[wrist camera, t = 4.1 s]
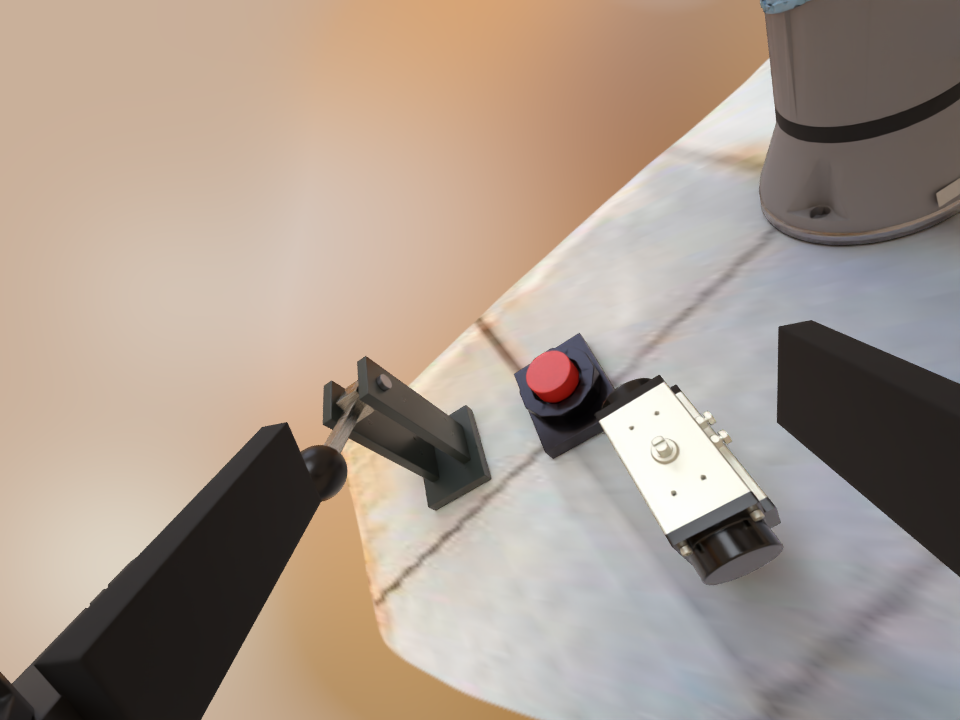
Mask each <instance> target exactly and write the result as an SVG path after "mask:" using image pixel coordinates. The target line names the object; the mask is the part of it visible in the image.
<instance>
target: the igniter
mask: <svg viewBox="0 0 960 720" xmlns="http://www.w3.org/2000/svg"><path fill="white" fill-rule="evenodd" d="M526 381H527V384H528V386H529V388H530V389H531V390H532V391H533V392H534V393H535V394H536V395H537V396H538V397H539V398H540V399H542V400H543V401H545V402H549V403H556V402H560V401H563V400H565V399H566V398H568V397H569V396H570V395H571V394H572V393H573V392H574V391H575V389H576V387H577V385H578V382H579V373H578V370H577V368H576V367H575V365H574V364H573V363H572V362H571V360H570V359H569V358H568V356H567V355H565V354H564V353H562V352H560V351H548V352H545V353H543V354H541V355H539V356H538V357H536V358H535V359H534V360H533V361H532V363H531V364H530V366H529V368H528V370H527V374H526Z"/></svg>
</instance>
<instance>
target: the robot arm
mask: <svg viewBox="0 0 960 720" xmlns="http://www.w3.org/2000/svg"><path fill="white" fill-rule="evenodd" d="M760 4H761V8H763V11H764V12H765V19H766V29H767V37H768V47H769V57H770V66H771V75H772V85H773V94H774V103H775V113H776V125H775V129H774V132H773V135H772V139H771V142H770V145H769V149H768V152H767V155H766V159H765V162H764V165H763V169H762V172H761V177H760V186H759V194H760V200H761V206H762V210H763V213H764V215H765V216H766V218H767V219H768V221H769V222H770V223H771V224H772V225H773V226H774V227H775V228H777V229H778V230H780V231H781V232H783V233H785V234H787V235H789V236H792V237H794V238H797V239H800V240H804V241H808V242H813V243H820V244H830V245H854V244H865V243H873V242H879V241H885V240H889V239H894V238H898V237H902V236H905V235H909V234H912V233H915V232H918V231H921V230H923V229H926V228H928V227H931V226H933V225H935V224H937V223H940V222H942V221H944V220H946V219H948V218H949V217H951V216H953V215H955V214H956V213H958V212H960V0H760ZM777 423H778V424H779V425H781V426H782V427H783V428H784V429H785V430H787V431H788V432H789V433H790V434H791V435H792V436H794V437H795V438H796V439H797V440H798V441H800V442H801V443H802V444H803V445H804V446H805V447H807V448H808V449H809V450H810V451H811V452H813V453H814V454H815V455H816V456H817V457H818V458H820V459H821V460H822V461H823V462H824V463H826V464H827V465H828V466H829V467H830V468H831V469H833V470H834V471H835V472H836V473H837V474H839V475H840V476H841V477H842V478H843V479H845V480H846V481H847V482H848V483H849V484H850V485H852V486H853V487H854V488H855V489H856V490H858V491H859V492H860V493H861V494H862V495H863V496H865V497H866V498H867V499H868V500H869V501H871V502H872V503H873V504H874V505H875V506H876V507H878V508H879V509H880V510H881V511H882V512H884V513H885V514H886V515H887V516H888V517H889V518H891V519H892V520H893V521H894V522H895V523H897V524H898V525H899V526H900V527H901V528H902V529H904V530H905V531H906V532H907V533H908V534H910V535H911V536H912V537H913V538H914V539H916V540H917V541H918V542H919V543H920V544H921V545H923V546H924V547H925V548H926V549H927V550H929V551H930V552H931V553H932V554H933V555H934V556H936V557H937V558H938V559H939V560H940V561H942V562H943V563H944V564H945V565H946V566H947V567H949V568H950V569H951V570H952V571H953V572H955V573H956V574H957V575H958V576H959V577H960V384H959V383H956V382H954V381H952V380H949V379H947V378H945V377H942V376H940V375H938V374H935V373H933V372H931V371H928V370H926V369H924V368H921V367H919V366H917V365H915V364H912V363H910V362H908V361H905V360H903V359H901V358H898V357H896V356H894V355H891V354H889V353H887V352H884V351H882V350H880V349H877V348H875V347H873V346H870V345H868V344H866V343H863V342H861V341H859V340H856V339H854V338H852V337H849V336H847V335H845V334H842V333H840V332H838V331H835V330H833V329H831V328H828V327H826V326H824V325H821V324H819V323H817V322H814V321H812V320H810V321H805V322H800V323H795V324H790V325H784V326H779V334H778V391H777ZM321 501H322V500H321V498H320V495H319V493H318V491H317V489H316V486H315V484H314V482H313V480H312V477H311V475H310V473H309V470H308V468H307V466H306V464H305V461H304V459H303V457H302V455H301V452H300V450H299V448H298V445H297V443H296V441H295V439H294V436H293V434H292V432H291V430H290V428H289V425H288V423H287V422H286V423H281V424H276V425H271V426H265V427H262V428H261V429H260V430H259V431H258V432H257V433H256V434H255V435H254V436H253V437H252V438H251V439H250V440H249V441H248V442H247V443H246V444H245V445H244V447H243V448H242V449H241V450H240V451H239V452H238V453H237V454H236V455H235V456H234V457H233V458H232V459H231V460H230V461H229V462H228V463H227V464H226V465H225V466H224V467H223V468H222V469H221V470H220V471H219V473H218V474H217V475H216V476H215V477H214V478H213V479H212V480H211V481H210V482H209V483H208V484H207V485H206V486H205V487H204V488H203V489H202V490H201V491H200V492H199V493H198V494H197V495H196V496H195V497H194V498H193V500H192V501H191V502H190V503H189V504H188V505H187V506H186V507H185V508H184V509H183V510H182V511H181V512H180V513H179V514H178V515H177V516H176V517H175V518H174V519H173V520H172V521H171V522H170V523H169V524H168V526H166V528H165V529H164V530H163V531H162V532H161V533H160V534H159V535H158V536H157V537H156V538H155V539H154V540H153V541H152V542H151V543H150V544H149V545H148V546H147V547H146V548H145V549H144V550H143V551H142V553H140V555H139V556H138V557H136V558H135V559H134V560H132V561H131V562H130V563H129V564H128V565H127V566H126V567H125V568H124V569H123V570H122V571H121V572H120V573H119V574H118V575H117V576H116V577H115V578H114V579H113V580H112V581H111V582H110V583H109V584H108V588H107V589H104V590H102V591H101V593H100V594H99V595H98V596H97V597H96V598H95V599H94V600H93V601H92V602H91V603H90V606H89V608H85V609H84V610H83V611H82V612H81V613H80V614H79V615H78V616H77V617H76V618H75V619H74V620H73V622H71V623H70V624H69V626H68V627H67V628H66V629H65V630H64V631H63V632H62V633H61V634H60V635H59V636H58V637H57V638H56V639H55V640H54V641H53V642H52V643H51V644H50V645H49V646H48V647H47V648H46V649H45V651H44V652H43V653H42V654H41V655H39V657H38V658H37V659H36V660H35V661H34V662H33V663H32V664H31V665H30V666H29V667H28V668H27V669H26V670H25V671H24V672H23V673H22V674H21V675H20V676H19V677H18V678H17V679H16V680H15V681H14V682H13V683H12V684H11V683H10V682H9V681H8V680H7V679H6V678H5V676H3V674H2V673H1V672H0V720H201V719H202V717H203V715H204V713H205V711H206V709H207V708H208V706H209V704H210V702H211V700H212V699H213V697H214V695H215V693H216V691H217V689H218V688H219V686H220V684H221V682H222V680H223V679H224V677H225V675H226V673H227V671H228V670H229V668H230V666H231V664H232V662H233V660H234V659H235V657H236V655H237V653H238V651H239V650H240V648H241V646H242V644H243V642H244V641H245V639H246V637H247V635H248V633H249V631H250V629H251V628H252V626H253V624H254V622H255V621H256V619H257V617H258V615H259V613H260V611H261V610H262V608H263V606H264V604H265V602H266V601H267V599H268V597H269V595H270V593H271V592H272V590H273V588H274V586H275V584H276V582H277V581H278V579H279V577H280V575H281V573H282V572H283V570H284V568H285V566H286V564H287V562H288V561H289V559H290V557H291V555H292V553H293V552H294V549H295V548H296V546H297V544H298V543H299V541H300V539H301V537H302V535H303V533H304V532H305V529H306V528H307V526H308V524H309V522H310V521H311V519H312V517H313V515H314V513H315V512H316V510H317V508H318V506H319V504H320V502H321Z"/></svg>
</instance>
